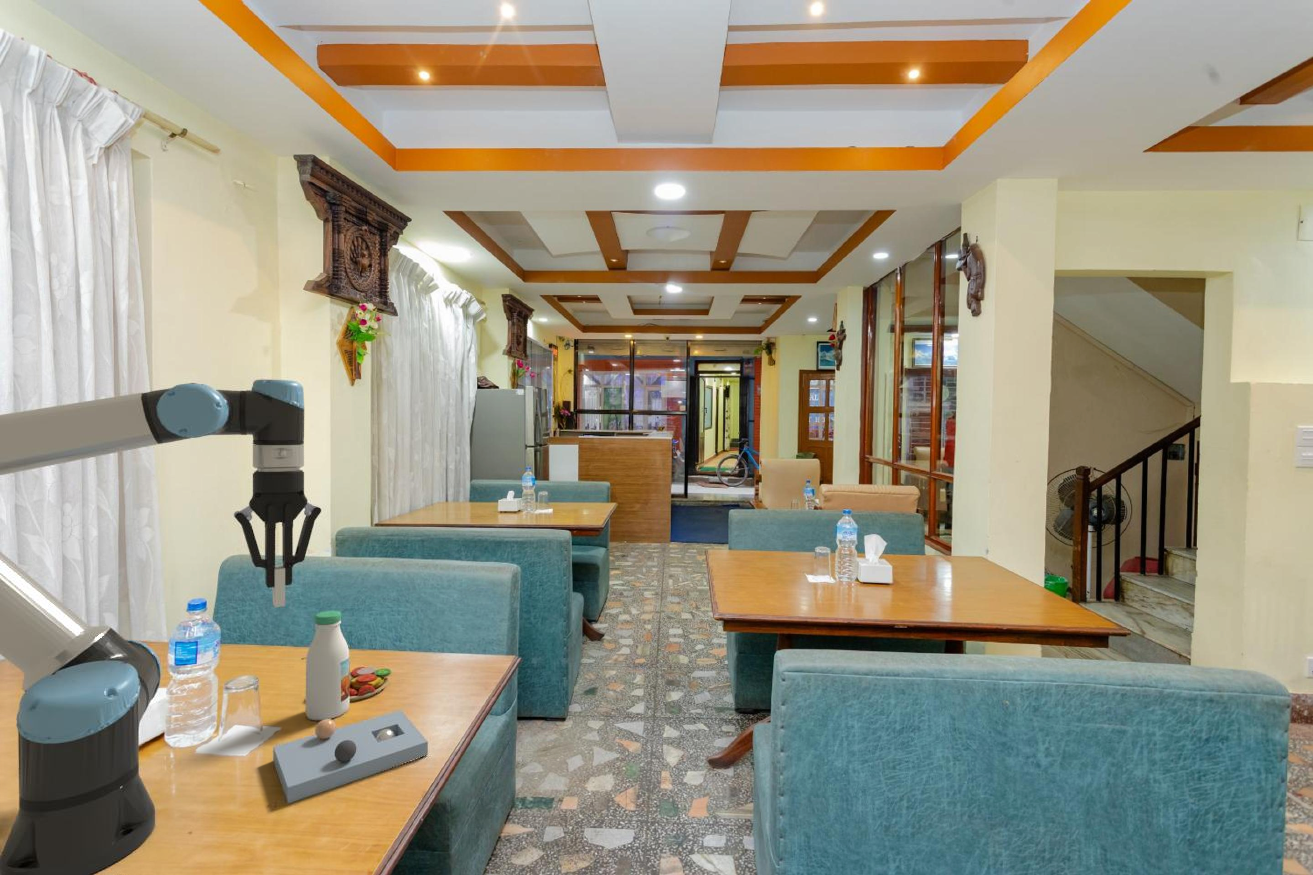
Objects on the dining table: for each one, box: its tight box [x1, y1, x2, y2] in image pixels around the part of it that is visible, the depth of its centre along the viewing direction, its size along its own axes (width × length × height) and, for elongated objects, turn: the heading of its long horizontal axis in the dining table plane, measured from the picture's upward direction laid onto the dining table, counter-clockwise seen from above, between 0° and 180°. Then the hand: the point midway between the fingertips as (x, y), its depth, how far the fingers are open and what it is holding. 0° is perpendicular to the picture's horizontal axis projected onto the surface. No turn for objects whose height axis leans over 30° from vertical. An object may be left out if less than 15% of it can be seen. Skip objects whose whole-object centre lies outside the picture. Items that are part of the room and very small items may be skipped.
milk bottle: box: [305, 610, 351, 721], centre depth 119 cm, size 8×8×20 cm
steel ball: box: [376, 729, 395, 742], centre depth 106 cm, size 3×3×3 cm
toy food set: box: [350, 666, 392, 702], centre depth 130 cm, size 13×13×3 cm
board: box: [272, 709, 429, 805], centre depth 103 cm, size 21×15×2 cm
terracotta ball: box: [314, 718, 337, 739], centre depth 104 cm, size 3×3×3 cm
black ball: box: [335, 740, 356, 762], centre depth 97 cm, size 3×3×3 cm
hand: (278, 604), depth 103 cm, fingers closed
